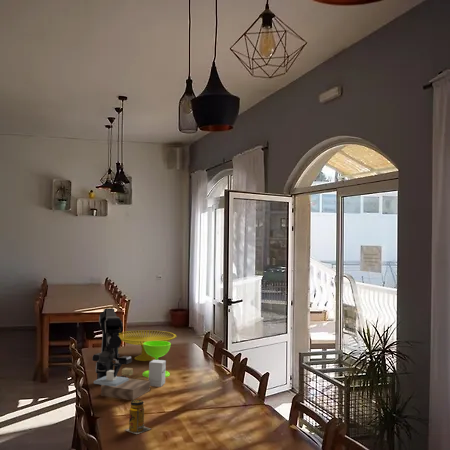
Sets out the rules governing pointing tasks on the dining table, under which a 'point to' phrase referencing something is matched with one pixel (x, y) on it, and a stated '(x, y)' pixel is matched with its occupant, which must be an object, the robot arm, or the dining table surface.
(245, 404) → the dining table surface
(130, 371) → the latch
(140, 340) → the cake stand
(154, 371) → the supplement box
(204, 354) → the dining table surface
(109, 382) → the cover
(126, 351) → the dining table surface
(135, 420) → the condiment
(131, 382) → the case
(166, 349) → the wineglass
